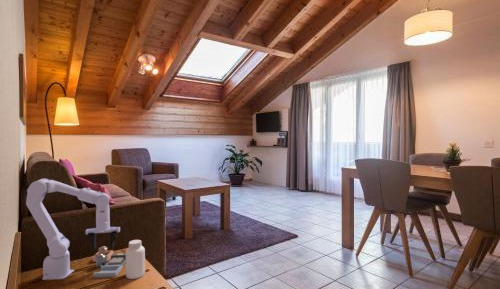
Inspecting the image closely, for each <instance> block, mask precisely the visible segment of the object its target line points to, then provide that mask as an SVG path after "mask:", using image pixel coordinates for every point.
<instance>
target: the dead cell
mask: <svg viewBox="0 0 500 289" xmlns="http://www.w3.org/2000/svg"><path fill="white" fill-rule="evenodd" d="M107 251H108V246H106V245H105V246H101V247H98V252H99V254H105V255H108V252H107Z"/></svg>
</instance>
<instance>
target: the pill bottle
mask: <svg viewBox="0 0 500 289" xmlns="http://www.w3.org/2000/svg"><path fill="white" fill-rule="evenodd" d="M125 254H126V264H125V277H126V278H127V279H130V280H134V279H135V280H136V279H139V278H141V277H143V276H144V275H145V274H146V248H145V247H144V246H143V245H142V240H140V239H133V240H130V241H129V242H128V248H126V250H125Z"/></svg>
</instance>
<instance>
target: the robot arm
mask: <svg viewBox="0 0 500 289" xmlns="http://www.w3.org/2000/svg"><path fill="white" fill-rule="evenodd" d="M26 192H27V193H26V201H25V205H26V207H27V209H28V210H29V212H30V213H31V216H32V218H33V219H34V221H35V223H36V224H37V226H38V228H39V229H40V230H41V232H42V234H43V235H44V237H45V239H46V245H47V247H48V254H49V255H47V256H46V257H45V258H44V260H43V264H42V271H43V272H42V274H43V275H42V280H43V281H45V280H64V279H66V278H67V277H68V276H70V275H71V274H73V272H75V269H71V268H70V267H71V263H70V262H71V258H70V251H69V250H68V249H69V247H70V243H71V242H70V240H69V239H68V238H66V237H65V235H64V234H63V233H62V232H60V231H59V229H58V227H57V226H56V224H55V223H54V220H53V219H52V217H51V215H50V214H49V212H48V211H47V209H46V207H45V206H44V204H43V200H44V199H45V196H46V195H47V194H49V193H55V192H59V193H63V194H67V195H71V196H74V197H77V200H79V201H81V202H84V203H85V202H86V203H89V204H93V205H94V204H95V206H96V210H95V227H94V228H87V229H86V230H85V235H87V238H88V240H89V241H90V243H91V244H90V245H91V246H92V250H97V234H106V233H110V234H109V239H110V249H113V248H114V246H115V241H116V238H117V236H118V233H120V232H121V226H111V219H110V218H111V217H110V216H111V215H110V214H111V213H110V212H111V211H110V195H109V194H108V193H106V192H101V191H100V190H98V191H97V190H93V189H91V188H90V187H87V188H86V187H83V188H77V187H75V186H71V185H69V184H66V183H62V182H60V181H57V180H54V179H49V178H40V179H38V180H35V181H33V182H32V183H30V184H29V187H28V188H27V189H26Z"/></svg>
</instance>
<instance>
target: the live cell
mask: <svg viewBox="0 0 500 289" xmlns="http://www.w3.org/2000/svg"><path fill="white" fill-rule="evenodd" d="M106 263H107V261H106V255H105V254H99V255H97V256H96V262H95V267H96V269H101V266H104V265H105V264H106Z"/></svg>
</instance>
